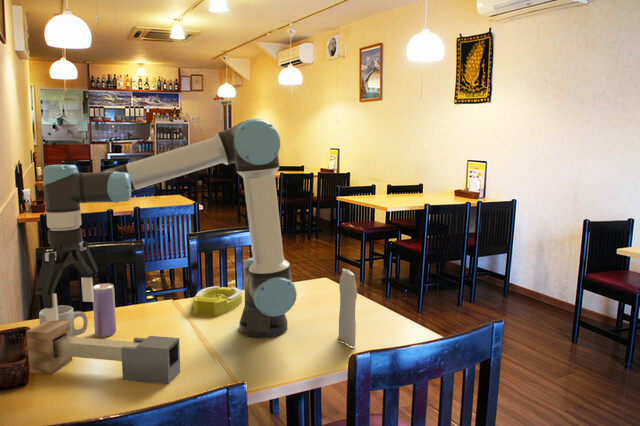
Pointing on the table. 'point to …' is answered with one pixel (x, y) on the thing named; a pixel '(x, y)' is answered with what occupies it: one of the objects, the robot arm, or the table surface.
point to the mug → (67, 318)
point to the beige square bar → (90, 347)
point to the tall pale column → (347, 307)
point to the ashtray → (216, 300)
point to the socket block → (46, 347)
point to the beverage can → (104, 310)
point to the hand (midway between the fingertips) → (71, 310)
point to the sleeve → (151, 360)
